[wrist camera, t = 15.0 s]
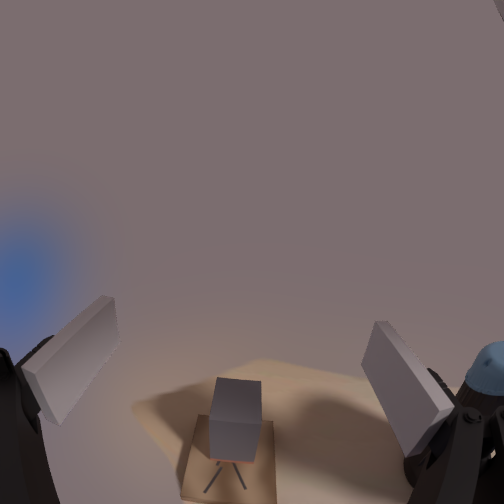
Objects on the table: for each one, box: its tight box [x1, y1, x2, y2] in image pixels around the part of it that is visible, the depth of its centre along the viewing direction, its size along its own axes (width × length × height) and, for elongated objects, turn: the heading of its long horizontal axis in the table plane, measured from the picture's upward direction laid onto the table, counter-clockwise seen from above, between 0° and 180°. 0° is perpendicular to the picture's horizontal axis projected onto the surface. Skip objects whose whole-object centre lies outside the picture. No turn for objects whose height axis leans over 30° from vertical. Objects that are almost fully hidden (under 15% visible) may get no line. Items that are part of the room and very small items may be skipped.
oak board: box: [180, 415, 277, 504], centre depth 30 cm, size 12×16×2 cm
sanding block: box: [209, 377, 262, 464], centre depth 32 cm, size 6×8×10 cm
